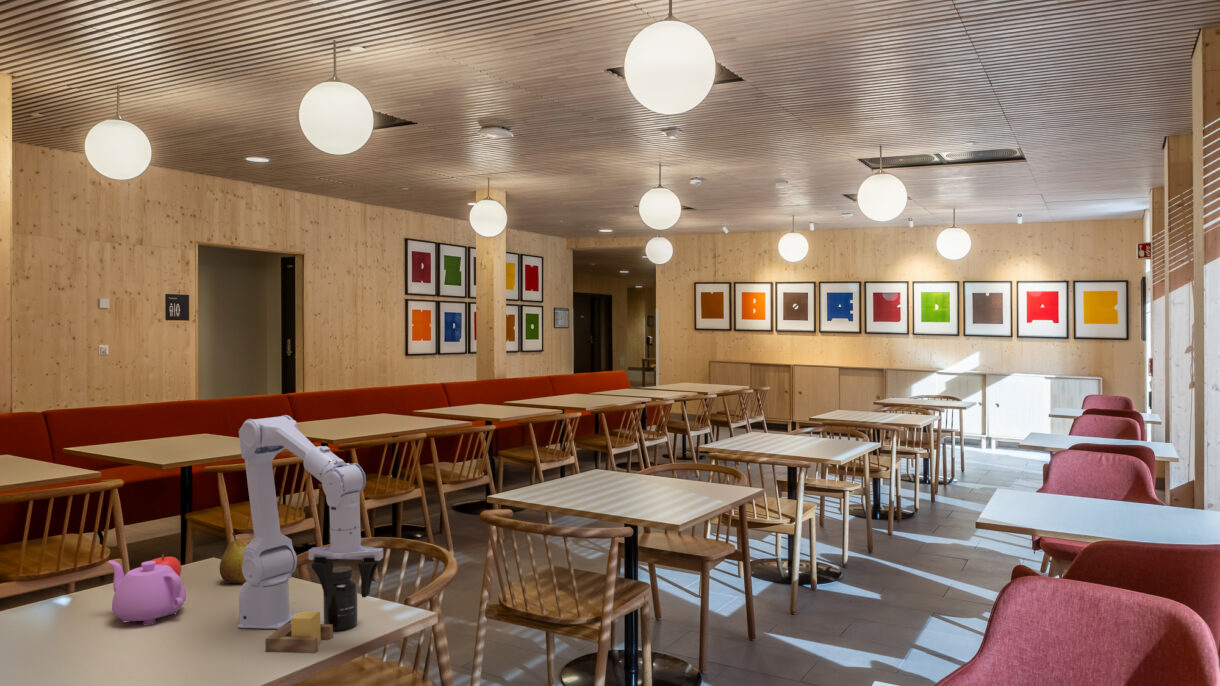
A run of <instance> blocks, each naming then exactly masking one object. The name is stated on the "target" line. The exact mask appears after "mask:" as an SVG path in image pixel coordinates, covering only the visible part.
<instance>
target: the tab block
mask: <svg viewBox="0 0 1220 686" xmlns="http://www.w3.org/2000/svg"><path fill="white" fill-rule="evenodd" d="M290 624H291V634H292V637H317V643H318V644H319V643H321V641H322V639H321V630H320V624H321V611H305V610H304V611H302V610H300V611H299V612H298V613H297V615H295V616H294V617H292V618H291V621H290Z"/></svg>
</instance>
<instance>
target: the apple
mask: <svg viewBox="0 0 1220 686" xmlns="http://www.w3.org/2000/svg"><path fill="white" fill-rule="evenodd" d="M151 561H156V564H155V565H167V566H170V567H171V568H172V569H173V570H174V571H175V573H176V574H177V575H178V576H179V577H180V578H181V572H182V566H181V561H180V560H179V559H177V558H176V557H174V556H165V555H164V553H163V554H161V557H157V558H154V559H151Z"/></svg>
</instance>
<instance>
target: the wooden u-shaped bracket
mask: <svg viewBox="0 0 1220 686" xmlns="http://www.w3.org/2000/svg"><path fill="white" fill-rule="evenodd" d="M320 630H321V640H331V639H333V638H334V631H333V625H331V624H324V623H320ZM264 640H265V642H264V643H265V645H264V646H265V652H277V653H278V652H279V653H280V652H282V653H283V652H284V653H309V654H310V653H311V654H312V653H313V654H314V653H316V652H317V651H318V650H319V648H318V645H319V643H317V637H292V634H291V623H287V624H285V625H283V626H282V627H281V628H279V629H276V630H275V631H274V632H272V633H271V634H269V635H268V636H267V637H266V638H265V639H264Z"/></svg>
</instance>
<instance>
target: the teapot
mask: <svg viewBox="0 0 1220 686" xmlns="http://www.w3.org/2000/svg"><path fill="white" fill-rule="evenodd" d="M108 563H109V564H110V565H111V567H112V569H113V583H112V584H113V592H114V595H113V598H112V602H111V610H112V613H113V614H114V615H115V616H116V617H118V618H119V619H120V620H122V621H131V622H140V621H141V622H142V621H143V625H144V624H150V625H153V624H155V623H156V622H157V621H156V619H159V618H162V617H166V616H173V615H172V614H174V615H176V614H175V613H177V614H178V610H179V609H180V608H182V607H183V606H184V604H185V601H186V600H187V592H186V588H185V585H184V583H183V581H182V579H181V576H180V577H179V576H178V575H177V574H176V573H175V571H174V570H173V569H172V568H171V567H170V566H167V565H155V564H156V561H152V560H147V561H146V560H145V561H143V562H141V564H140V566H139V567H136V568H133V569H131V570H129V571H127V572H126V573H124V570H123V566H122V565H121V564H120V562H118V561H115V560H112V559H110V560H108ZM152 623H153V624H152Z"/></svg>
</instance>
